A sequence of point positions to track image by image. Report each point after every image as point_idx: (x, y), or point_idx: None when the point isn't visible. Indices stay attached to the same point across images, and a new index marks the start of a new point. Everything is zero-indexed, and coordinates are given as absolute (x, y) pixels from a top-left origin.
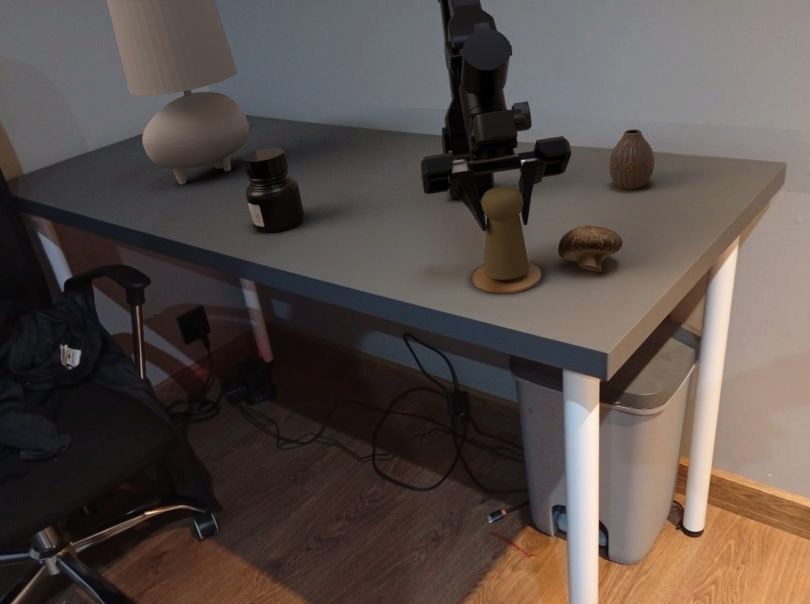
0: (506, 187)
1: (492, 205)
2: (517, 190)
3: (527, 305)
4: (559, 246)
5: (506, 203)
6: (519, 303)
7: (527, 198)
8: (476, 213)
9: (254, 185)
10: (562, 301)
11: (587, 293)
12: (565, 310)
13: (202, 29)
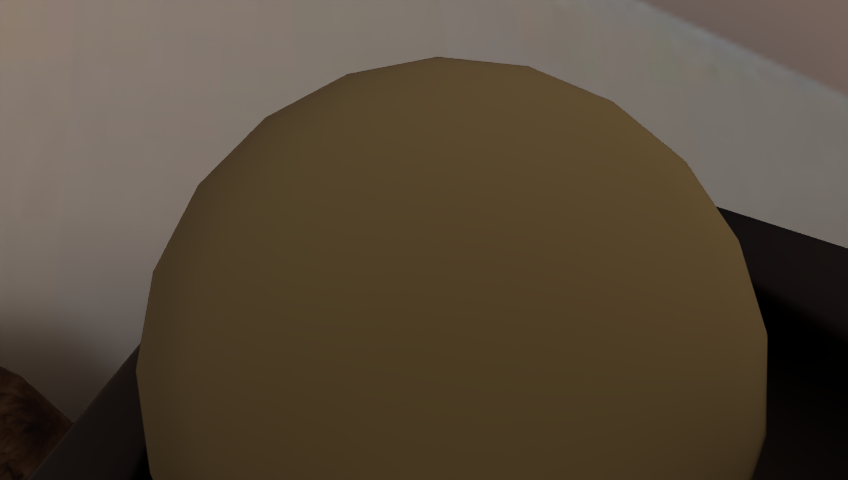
0: (377, 459)
1: (558, 79)
2: (178, 407)
3: (297, 57)
4: (56, 444)
5: (358, 72)
6: (336, 77)
7: (88, 447)
8: (743, 216)
9: None
10: (133, 88)
11: (7, 162)
12: (122, 7)
13: None
